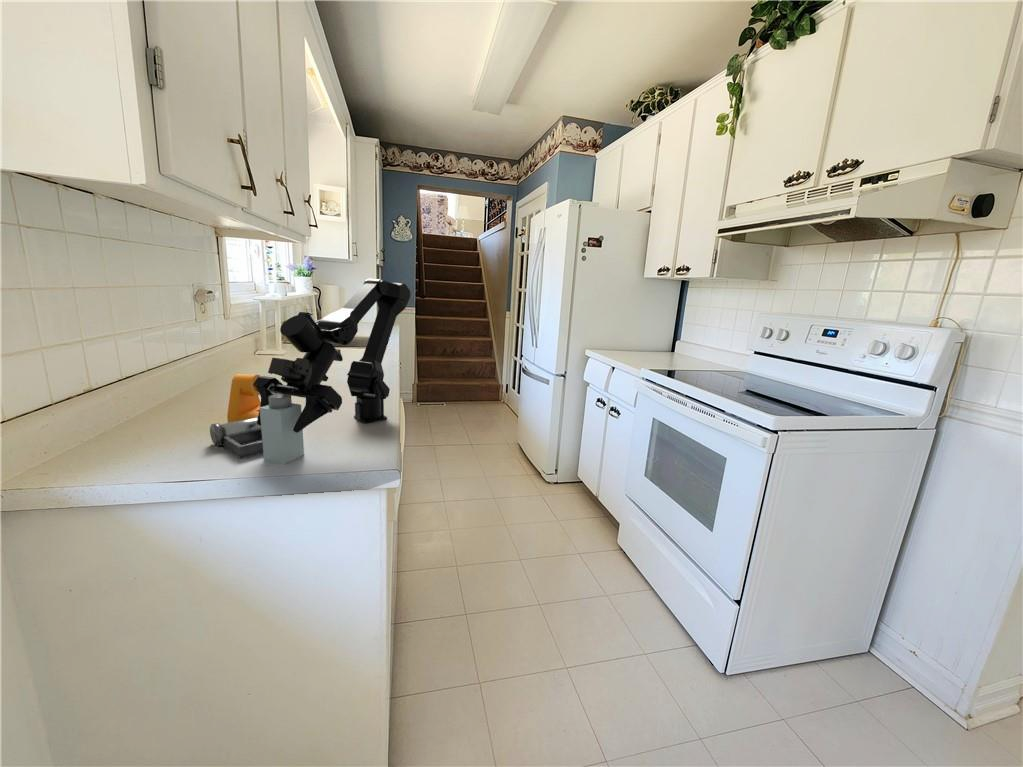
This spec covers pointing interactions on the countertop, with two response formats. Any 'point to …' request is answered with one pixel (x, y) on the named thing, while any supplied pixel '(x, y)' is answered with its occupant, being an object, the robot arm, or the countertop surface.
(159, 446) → the countertop surface
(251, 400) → the bracket
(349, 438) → the countertop surface
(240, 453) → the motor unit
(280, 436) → the grey capped bottle
